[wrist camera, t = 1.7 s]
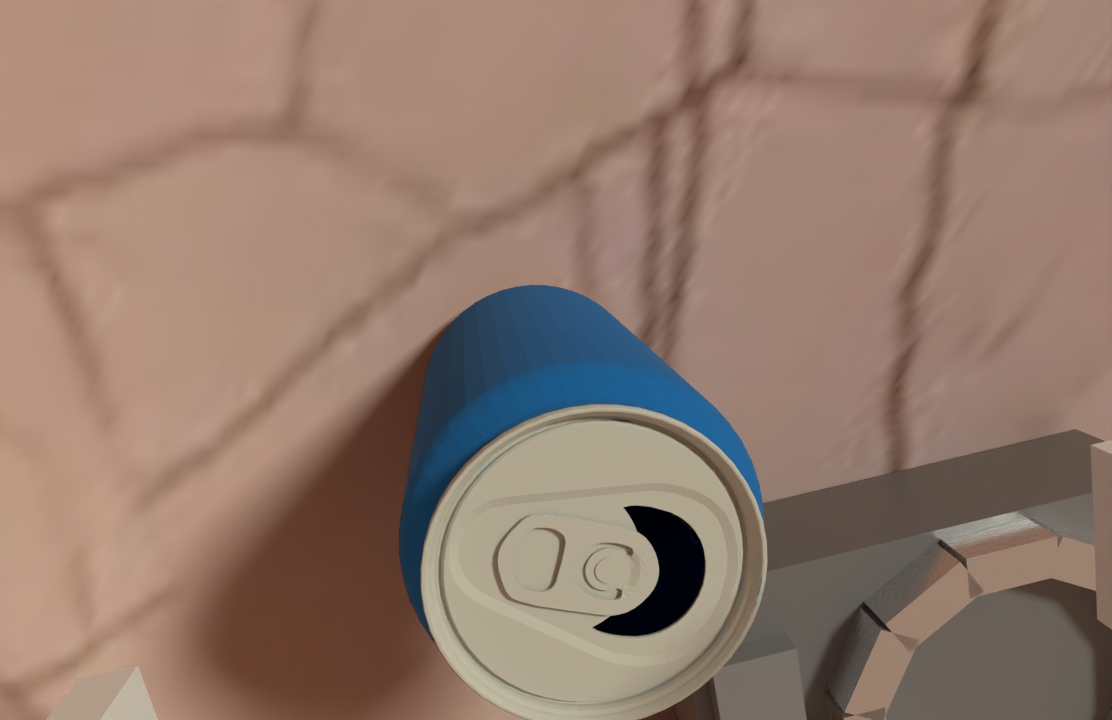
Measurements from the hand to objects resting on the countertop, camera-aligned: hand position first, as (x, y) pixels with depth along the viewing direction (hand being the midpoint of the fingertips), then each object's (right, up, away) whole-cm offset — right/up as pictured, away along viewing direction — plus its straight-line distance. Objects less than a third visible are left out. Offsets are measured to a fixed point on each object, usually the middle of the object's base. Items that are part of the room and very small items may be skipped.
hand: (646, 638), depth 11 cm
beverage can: (-2, +3, +14) cm, 14 cm away
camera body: (+10, -5, +17) cm, 20 cm away
